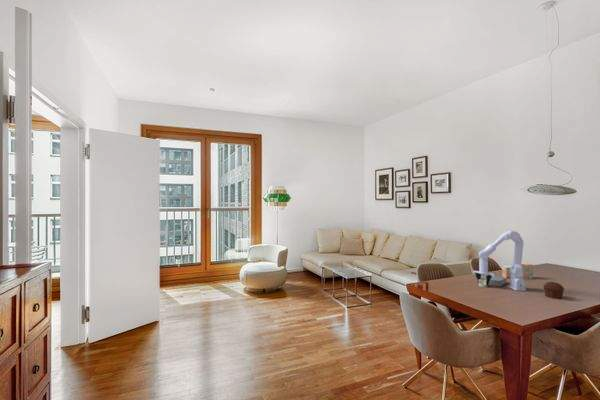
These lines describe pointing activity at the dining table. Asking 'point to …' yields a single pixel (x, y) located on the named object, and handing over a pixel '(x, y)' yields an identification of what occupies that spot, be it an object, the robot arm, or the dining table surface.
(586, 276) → the dining table surface
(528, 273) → the stack of blocks
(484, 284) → the sage cube
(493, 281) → the base block
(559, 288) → the muffin
